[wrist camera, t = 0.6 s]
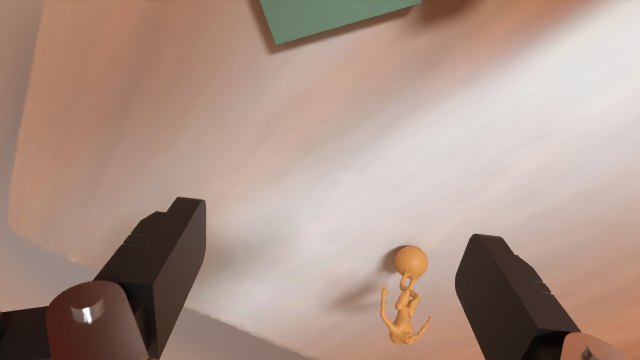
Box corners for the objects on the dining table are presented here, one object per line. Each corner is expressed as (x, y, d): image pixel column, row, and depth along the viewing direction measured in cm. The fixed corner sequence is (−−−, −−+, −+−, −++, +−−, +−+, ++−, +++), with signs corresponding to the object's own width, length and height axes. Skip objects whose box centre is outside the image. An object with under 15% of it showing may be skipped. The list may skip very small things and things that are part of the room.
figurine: (442, 258, 49) (463, 348, 39) (405, 277, 52) (417, 365, 42) (399, 225, 45) (411, 314, 36) (363, 248, 48) (366, 336, 39)
